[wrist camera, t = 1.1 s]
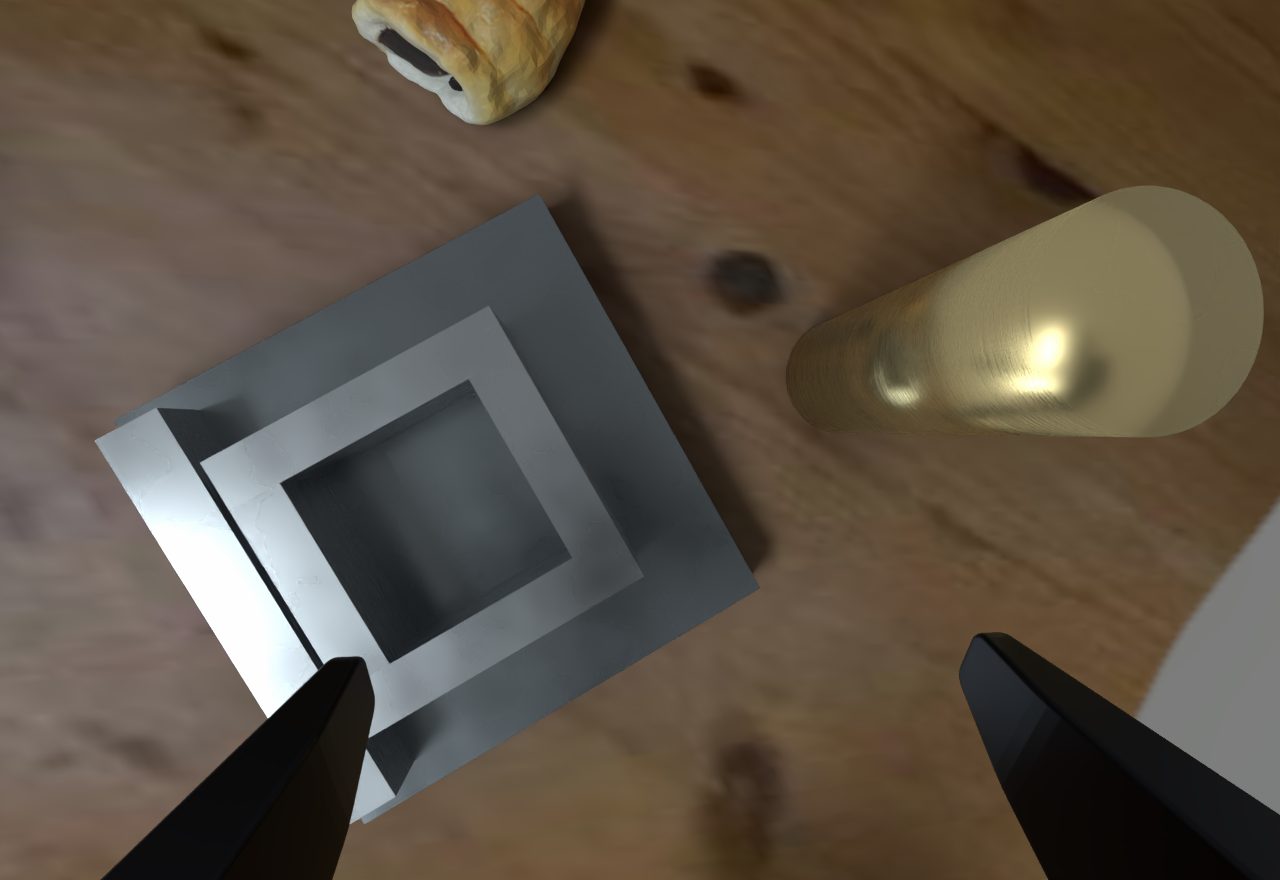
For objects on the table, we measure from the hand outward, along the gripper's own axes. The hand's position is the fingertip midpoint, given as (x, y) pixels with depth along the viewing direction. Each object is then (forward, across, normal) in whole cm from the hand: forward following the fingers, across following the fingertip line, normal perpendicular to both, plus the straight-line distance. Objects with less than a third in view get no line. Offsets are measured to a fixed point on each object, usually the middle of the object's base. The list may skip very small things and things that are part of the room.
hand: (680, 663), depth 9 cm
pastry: (+22, +5, -10) cm, 24 cm away
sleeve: (+15, -8, +2) cm, 17 cm away
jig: (+13, +6, +6) cm, 15 cm away
